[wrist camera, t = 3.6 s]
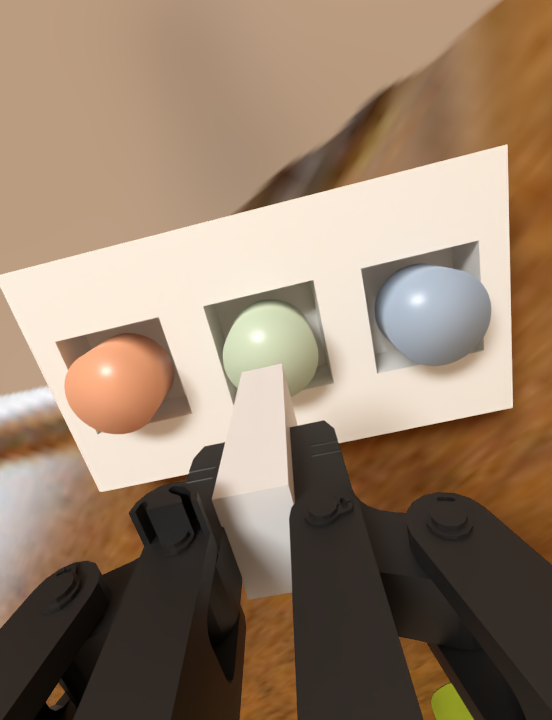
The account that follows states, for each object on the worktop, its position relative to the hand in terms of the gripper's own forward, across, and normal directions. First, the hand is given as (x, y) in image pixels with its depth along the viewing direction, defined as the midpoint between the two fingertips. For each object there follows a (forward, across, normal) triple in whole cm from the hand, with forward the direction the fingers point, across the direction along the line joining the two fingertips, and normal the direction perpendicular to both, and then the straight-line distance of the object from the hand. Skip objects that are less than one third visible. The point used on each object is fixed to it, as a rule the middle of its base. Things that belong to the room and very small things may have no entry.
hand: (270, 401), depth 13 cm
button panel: (+11, 0, 0) cm, 11 cm away
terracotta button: (+8, -9, 0) cm, 12 cm away
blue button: (+8, +8, 0) cm, 12 cm away
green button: (+8, 0, 0) cm, 8 cm away
